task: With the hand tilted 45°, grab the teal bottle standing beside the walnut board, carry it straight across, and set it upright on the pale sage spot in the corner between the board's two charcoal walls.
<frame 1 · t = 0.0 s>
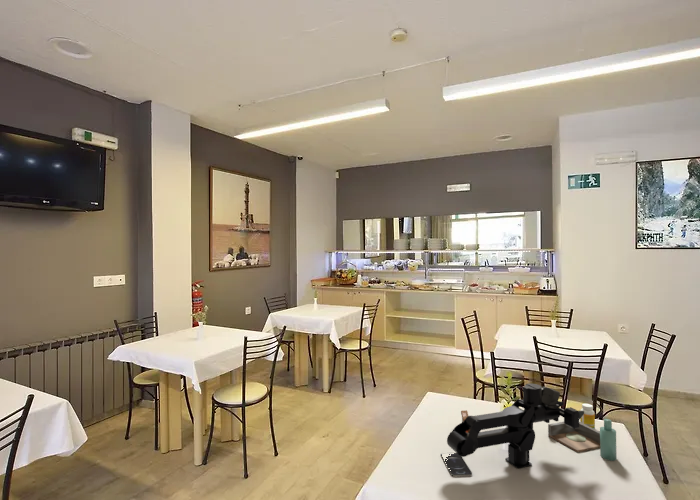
hand: (573, 407, 147), 17 cm above the table, tool horizontal, fingers open, 9 cm apart
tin: (466, 434, 162), on the table
supplement bottle: (587, 428, 167), on the table
smartphone: (455, 466, 139), on the table
teal bottle: (608, 457, 143), on the table
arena: (576, 441, 155), on the table
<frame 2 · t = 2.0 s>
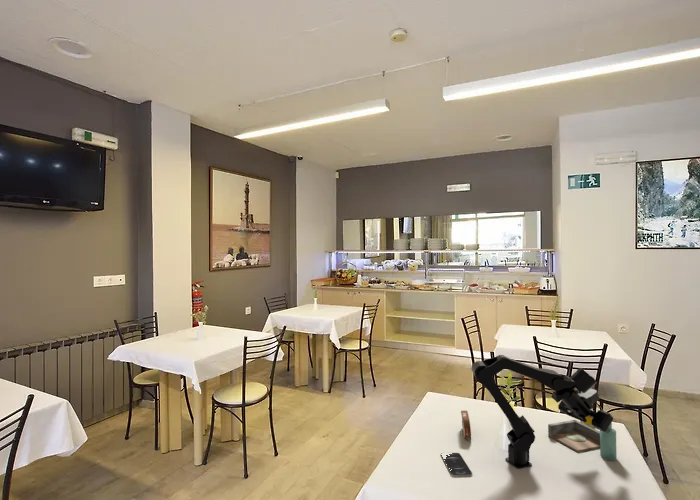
hand: (596, 426, 141), 12 cm above the table, tool tilted 45°, fingers open, 9 cm apart
nothing on the table moved.
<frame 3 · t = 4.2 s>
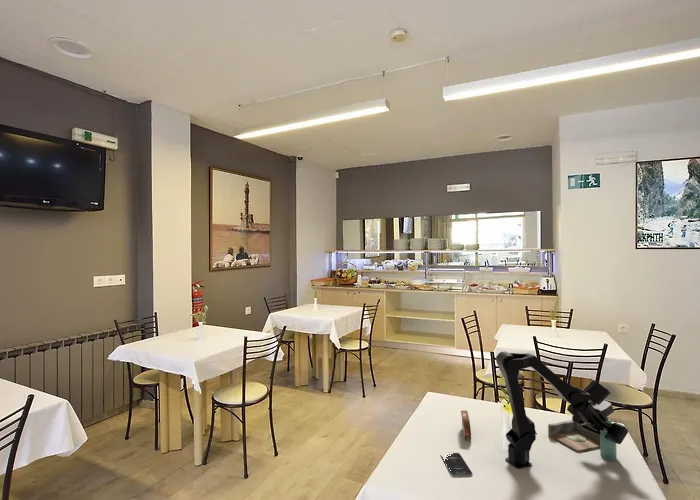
hand: (610, 438, 143), 7 cm above the table, tool tilted 45°, fingers closed on teal bottle, 5 cm apart
teal bottle: (608, 457, 143), on the table, touching gripper
everything else where it was.
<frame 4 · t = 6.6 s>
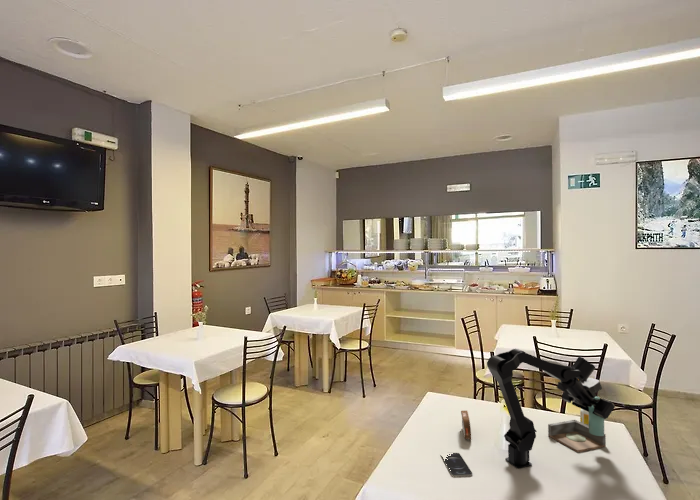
hand: (599, 415, 148), 13 cm above the table, tool tilted 45°, fingers closed on teal bottle, 5 cm apart
teal bottle: (596, 433, 147), point 7 cm above the table, touching gripper
everything else where it was.
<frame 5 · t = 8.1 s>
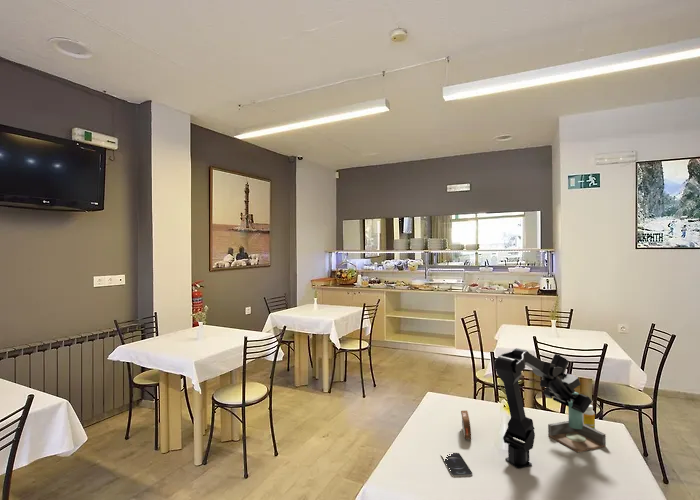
hand: (578, 409, 157), 12 cm above the table, tool tilted 45°, fingers closed on teal bottle, 5 cm apart
teal bottle: (575, 426, 156), point 5 cm above the table, touching gripper
everything else where it was.
when the fingers open (8 cm above the table, at t = 9.2 s): teal bottle stays where it is, resting on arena.
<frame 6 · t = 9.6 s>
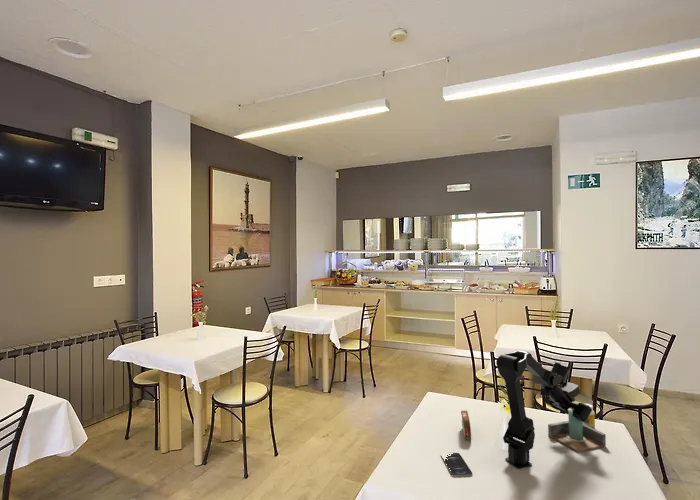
hand: (578, 417, 157), 9 cm above the table, tool tilted 45°, fingers open, 9 cm apart
teal bottle: (575, 437, 156), point 1 cm above the table, touching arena
everything else where it was.
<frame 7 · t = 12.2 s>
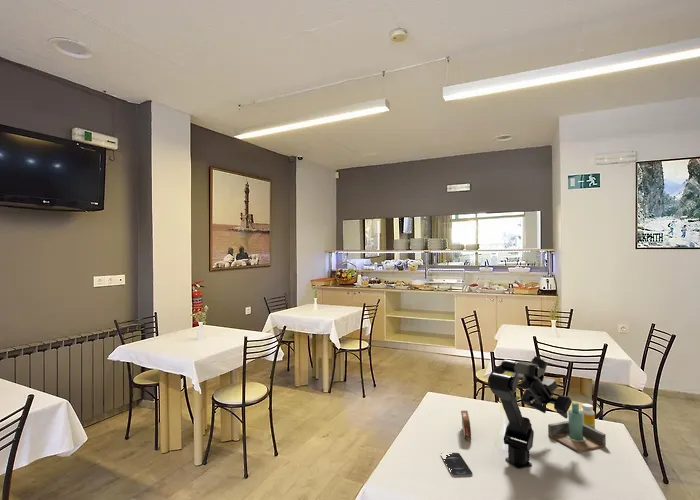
hand: (555, 414, 155), 11 cm above the table, tool tilted 40°, fingers open, 9 cm apart
nothing on the table moved.
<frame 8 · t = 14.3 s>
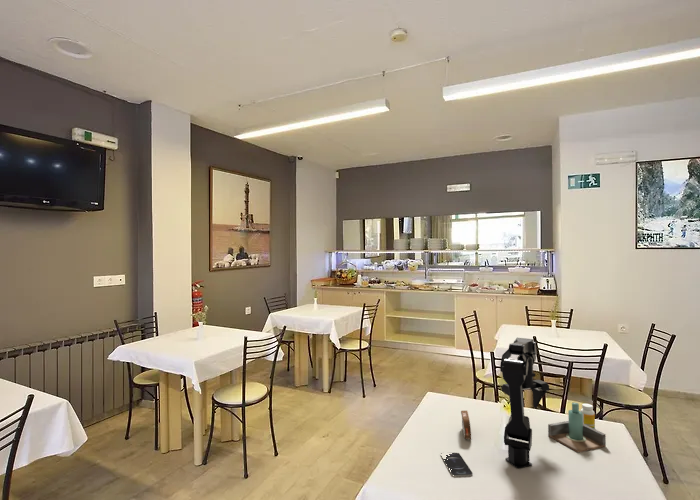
hand: (525, 408, 155), 13 cm above the table, tool pointing down, fingers open, 9 cm apart
nothing on the table moved.
at the end: teal bottle 0.1 cm from the target spot on the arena, point 1.0 cm above the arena's base; teal bottle tilted 0°; the gripper is holding nothing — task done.
